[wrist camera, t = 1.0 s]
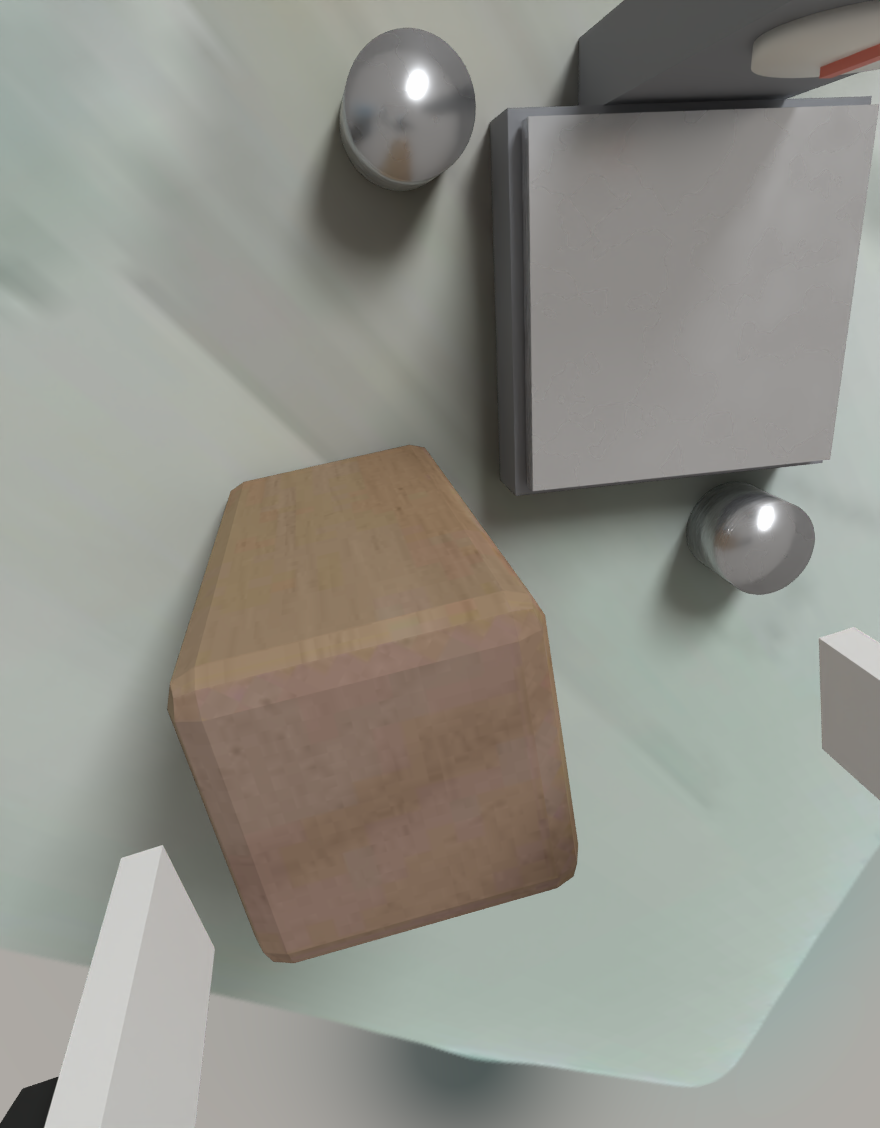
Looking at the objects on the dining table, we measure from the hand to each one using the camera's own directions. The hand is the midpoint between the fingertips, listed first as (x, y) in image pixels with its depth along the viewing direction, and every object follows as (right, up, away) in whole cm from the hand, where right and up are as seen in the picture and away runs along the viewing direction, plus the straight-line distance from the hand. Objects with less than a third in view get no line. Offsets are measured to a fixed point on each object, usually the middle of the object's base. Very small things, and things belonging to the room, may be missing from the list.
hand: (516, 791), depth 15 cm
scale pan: (+9, +17, +22) cm, 29 cm away
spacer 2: (+15, +7, +27) cm, 32 cm away
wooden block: (-6, +5, +24) cm, 25 cm away
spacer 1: (-3, +23, +17) cm, 29 cm away
